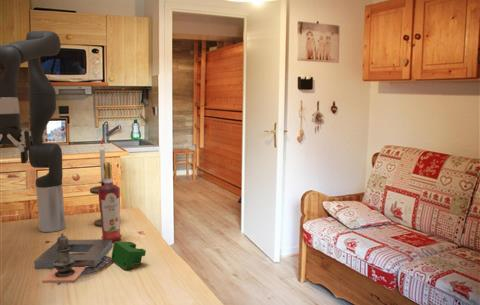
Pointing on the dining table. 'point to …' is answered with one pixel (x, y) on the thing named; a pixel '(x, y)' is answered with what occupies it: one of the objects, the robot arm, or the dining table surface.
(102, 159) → the candlestick
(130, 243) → the clamp
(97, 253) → the grey square frame
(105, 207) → the liquor
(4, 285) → the dining table surface
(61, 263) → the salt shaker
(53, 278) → the tile
